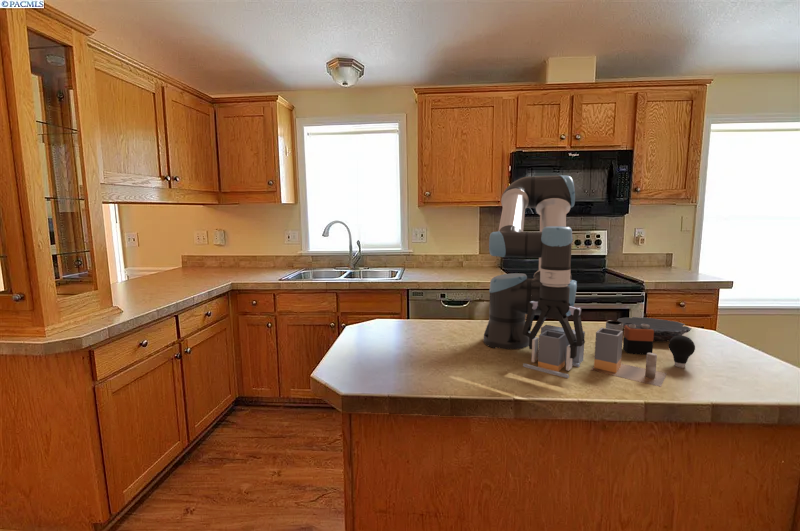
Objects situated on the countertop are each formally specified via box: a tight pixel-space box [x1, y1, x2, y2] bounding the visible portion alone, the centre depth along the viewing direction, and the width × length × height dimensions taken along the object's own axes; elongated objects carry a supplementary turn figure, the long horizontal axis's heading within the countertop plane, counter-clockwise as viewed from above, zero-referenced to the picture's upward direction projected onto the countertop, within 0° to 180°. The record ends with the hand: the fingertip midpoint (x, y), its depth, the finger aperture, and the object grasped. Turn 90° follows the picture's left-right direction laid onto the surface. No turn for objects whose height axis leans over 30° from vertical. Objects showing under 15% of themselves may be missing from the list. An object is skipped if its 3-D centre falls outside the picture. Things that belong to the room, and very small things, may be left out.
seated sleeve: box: [593, 327, 624, 373], centre depth 106 cm, size 5×5×10 cm
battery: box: [622, 324, 654, 356], centre depth 118 cm, size 4×7×10 cm, turn 78°
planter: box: [605, 319, 624, 332], centre depth 119 cm, size 4×4×10 cm
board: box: [616, 316, 692, 343], centre depth 137 cm, size 22×22×5 cm
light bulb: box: [668, 335, 696, 369], centre depth 107 cm, size 6×6×10 cm
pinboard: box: [590, 352, 668, 388], centre depth 104 cm, size 16×10×8 cm, turn 49°
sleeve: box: [537, 330, 566, 372], centre depth 108 cm, size 5×5×10 cm
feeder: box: [522, 324, 586, 379], centre depth 110 cm, size 12×15×10 cm
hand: (551, 364), depth 108 cm, fingers open, 9 cm apart
